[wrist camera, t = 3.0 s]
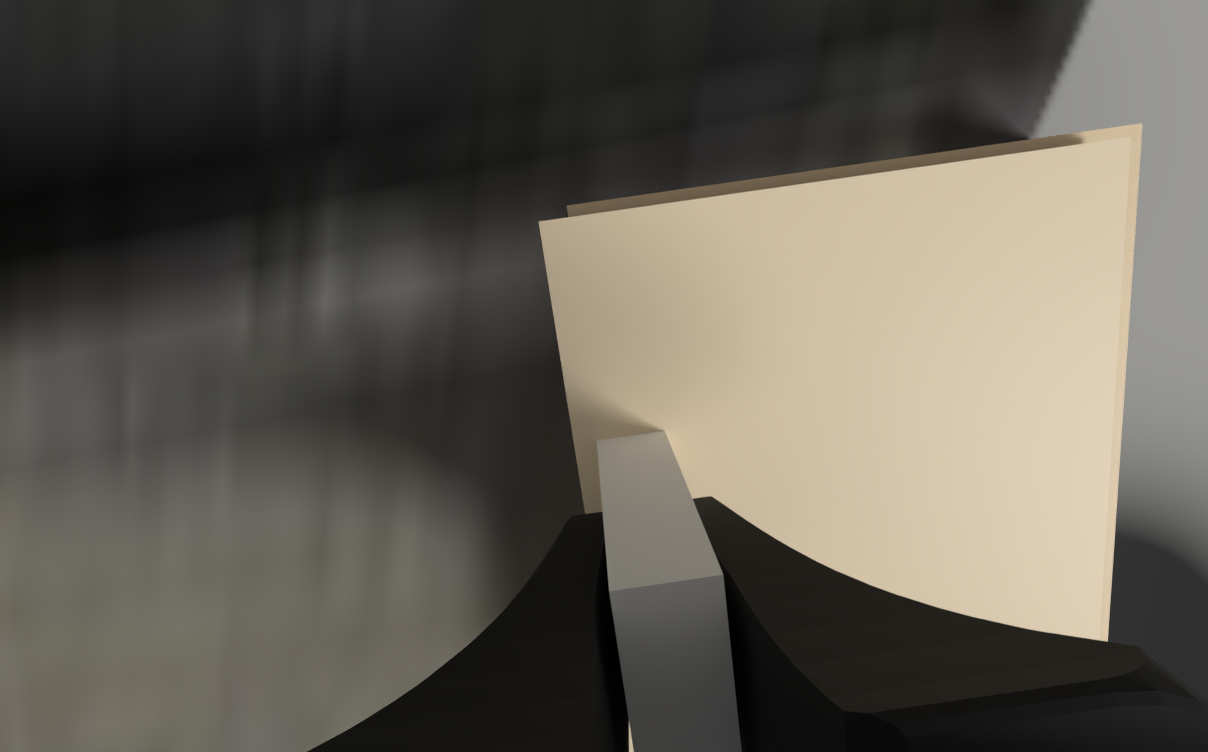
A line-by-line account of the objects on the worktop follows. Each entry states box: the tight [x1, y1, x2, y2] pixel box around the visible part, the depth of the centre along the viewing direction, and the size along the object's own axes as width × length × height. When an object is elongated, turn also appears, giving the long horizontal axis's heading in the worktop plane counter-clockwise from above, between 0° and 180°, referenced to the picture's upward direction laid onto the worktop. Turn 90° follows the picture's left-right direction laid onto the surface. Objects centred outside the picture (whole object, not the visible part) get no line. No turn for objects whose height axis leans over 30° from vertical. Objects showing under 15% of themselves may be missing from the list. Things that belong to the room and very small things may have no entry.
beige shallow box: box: [567, 124, 1142, 642], centre depth 14 cm, size 12×10×3 cm
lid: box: [539, 137, 1131, 752], centre depth 10 cm, size 12×10×5 cm
